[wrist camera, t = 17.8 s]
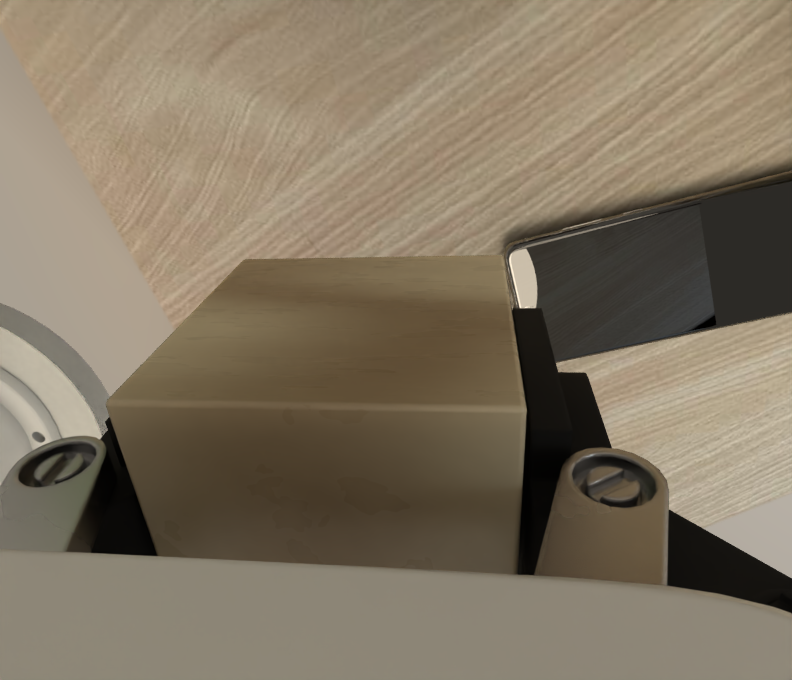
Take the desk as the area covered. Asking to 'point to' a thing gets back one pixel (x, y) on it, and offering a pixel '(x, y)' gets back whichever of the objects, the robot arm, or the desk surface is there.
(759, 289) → the smartphone
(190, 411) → the block
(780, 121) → the desk surface
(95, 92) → the desk surface
